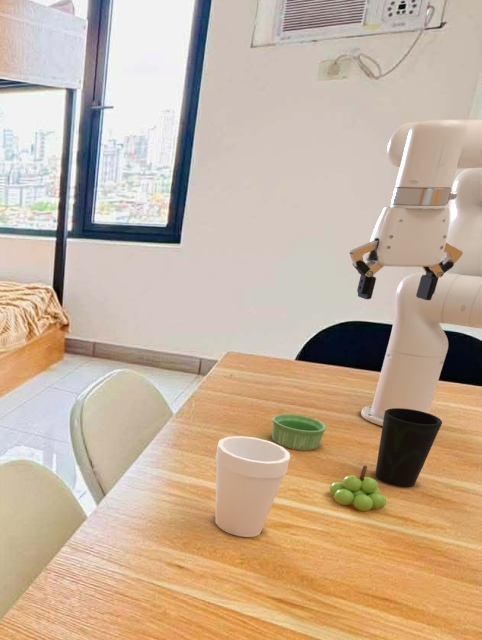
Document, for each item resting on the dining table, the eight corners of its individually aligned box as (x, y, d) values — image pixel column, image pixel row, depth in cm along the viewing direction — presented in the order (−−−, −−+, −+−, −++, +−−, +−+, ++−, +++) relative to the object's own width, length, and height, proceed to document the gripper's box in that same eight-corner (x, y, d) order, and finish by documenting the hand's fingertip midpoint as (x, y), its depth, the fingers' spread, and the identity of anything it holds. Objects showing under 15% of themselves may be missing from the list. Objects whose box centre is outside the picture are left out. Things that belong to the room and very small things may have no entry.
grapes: (323, 488, 107) (332, 453, 105) (371, 494, 105) (381, 458, 103) (338, 510, 100) (348, 473, 98) (389, 517, 98) (401, 479, 96)
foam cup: (266, 515, 99) (283, 440, 95) (279, 547, 91) (297, 467, 86) (201, 506, 102) (213, 433, 98) (207, 536, 94) (221, 458, 89)
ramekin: (287, 430, 130) (291, 410, 129) (331, 446, 123) (336, 425, 121) (258, 438, 127) (262, 418, 125) (302, 455, 119) (307, 434, 117)
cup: (432, 492, 105) (453, 426, 101) (381, 488, 107) (399, 423, 103) (407, 471, 112) (425, 409, 108) (359, 468, 114) (376, 406, 110)
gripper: (460, 197, 109) (433, 295, 115) (352, 198, 111) (330, 293, 117) (492, 199, 102) (461, 303, 108) (376, 200, 104) (352, 301, 110)
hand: (393, 298), depth 112 cm, fingers open, 9 cm apart
